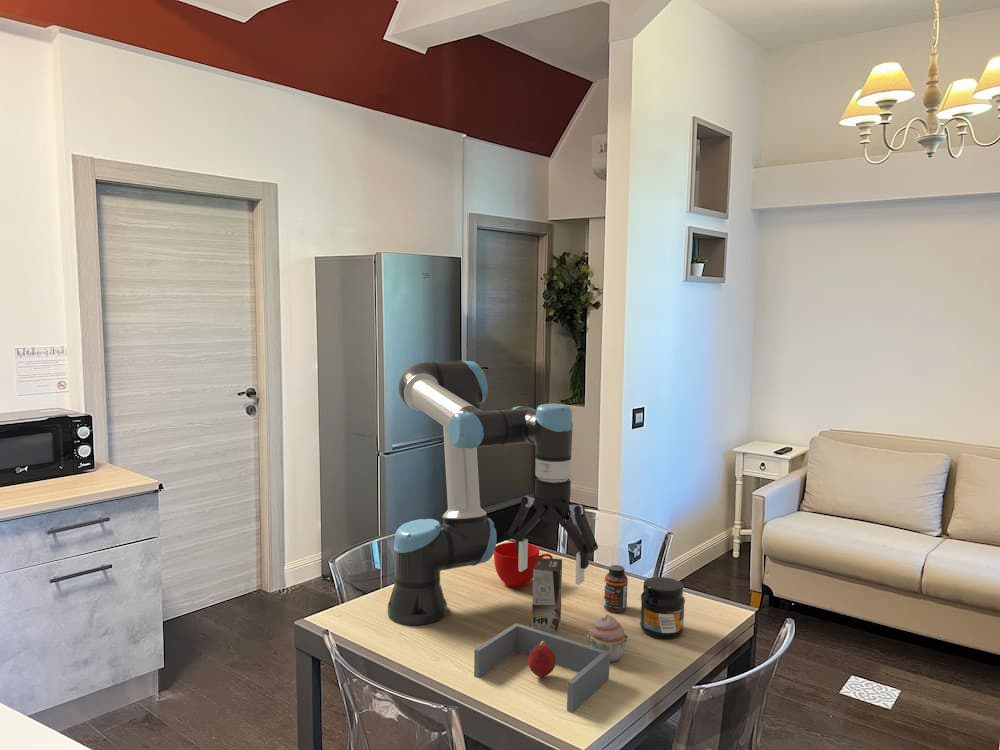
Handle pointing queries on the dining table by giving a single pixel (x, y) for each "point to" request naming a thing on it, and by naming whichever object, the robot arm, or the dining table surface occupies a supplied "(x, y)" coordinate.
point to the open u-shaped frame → (566, 653)
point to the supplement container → (662, 608)
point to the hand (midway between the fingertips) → (550, 576)
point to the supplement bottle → (615, 589)
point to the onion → (541, 660)
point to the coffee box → (547, 595)
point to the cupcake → (608, 637)
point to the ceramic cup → (515, 564)
